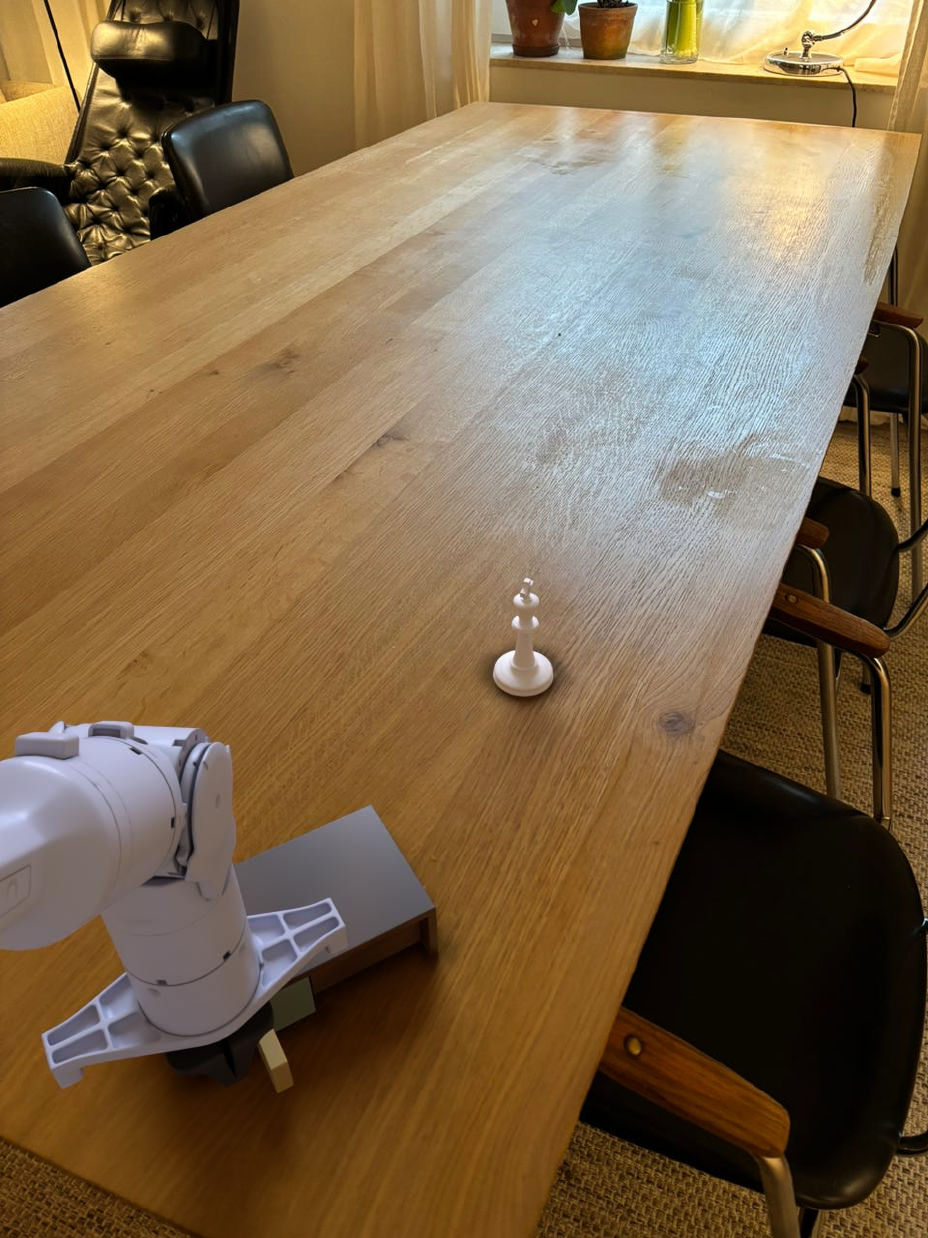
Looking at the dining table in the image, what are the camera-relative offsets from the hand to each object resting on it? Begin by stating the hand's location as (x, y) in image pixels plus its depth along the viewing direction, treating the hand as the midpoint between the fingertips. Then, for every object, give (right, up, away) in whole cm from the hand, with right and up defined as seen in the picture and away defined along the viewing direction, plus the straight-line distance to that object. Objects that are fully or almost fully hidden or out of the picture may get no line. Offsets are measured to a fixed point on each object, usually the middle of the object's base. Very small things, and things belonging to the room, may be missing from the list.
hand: (230, 1066), depth 54 cm
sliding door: (+2, -2, +4) cm, 4 cm away
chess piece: (+17, +19, +28) cm, 38 cm away
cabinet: (+2, +3, +9) cm, 10 cm away
